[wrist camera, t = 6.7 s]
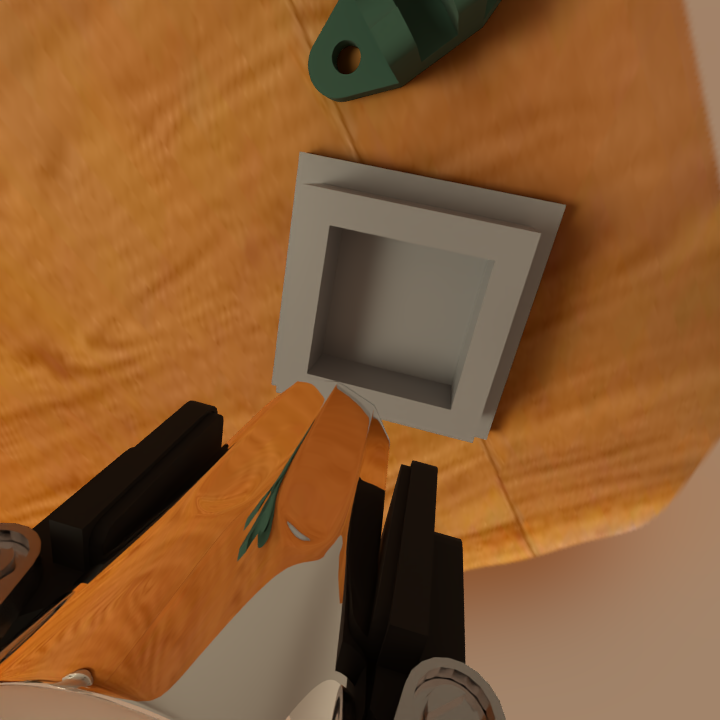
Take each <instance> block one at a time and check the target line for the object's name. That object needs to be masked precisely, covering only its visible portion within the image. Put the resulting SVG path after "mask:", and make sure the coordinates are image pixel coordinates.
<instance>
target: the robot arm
mask: <svg viewBox="0 0 720 720" xmlns="http://www.w3.org/2000/svg"><path fill="white" fill-rule="evenodd" d="M222 433H223V416H222V415H219V414H217V408H216V407H215V406H211V405H207V404H204V403H200V402H196V401H189V402H187V403H186V404H185V405H183V406H182V407H181V408H180V409H179V410H178V411H176V412H175V413H174V414H173V415H172V416H170V417H169V418H168V419H167V420H166V421H165V422H163V423H162V424H161V425H160V426H159V427H157V428H156V429H155V430H154V431H153V432H152V433H150V434H149V435H148V436H147V437H146V438H144V439H143V440H142V441H141V442H140V443H139V444H137V445H136V446H135V447H132V448H130V449H128V450H127V451H125V452H124V453H123V454H122V455H120V456H119V457H118V458H117V459H116V460H114V461H113V462H112V463H111V464H110V465H108V466H107V467H106V468H105V469H104V470H102V471H101V472H100V473H99V474H98V475H96V476H95V477H94V478H93V479H92V480H90V481H89V482H88V483H87V484H86V485H84V486H83V487H82V488H81V489H80V490H79V491H77V492H76V493H75V494H74V495H73V496H71V497H70V498H69V499H68V500H67V501H65V502H64V503H63V504H62V505H61V506H59V507H58V508H57V509H56V510H55V511H53V512H52V513H51V514H50V515H49V516H47V517H46V518H45V519H44V520H43V521H41V522H40V523H39V524H38V525H37V526H35V527H34V528H33V529H31V528H29V527H27V526H24V525H20V524H16V523H0V647H2V646H3V645H4V644H5V643H6V642H7V641H8V640H9V639H10V638H12V637H13V636H14V635H15V634H16V633H17V632H18V631H19V630H21V629H22V628H23V627H24V626H25V625H26V624H27V623H28V622H30V621H31V620H32V619H33V618H34V617H35V616H36V615H37V614H39V613H40V612H41V611H42V610H43V609H44V608H45V607H46V606H48V605H49V604H50V603H51V602H52V601H53V600H54V599H55V598H56V597H58V596H59V595H60V594H61V593H62V592H63V591H64V590H65V589H67V588H68V587H69V586H70V585H71V584H72V583H73V582H74V581H76V580H77V579H78V578H79V577H80V576H81V575H82V574H83V573H85V572H86V571H87V570H88V569H89V568H90V567H91V566H92V565H94V564H95V563H96V562H97V561H98V560H99V559H100V558H102V557H103V556H104V555H105V554H106V553H107V552H108V551H109V550H111V549H112V548H113V547H114V546H115V545H116V544H117V543H119V542H120V541H121V540H122V539H123V538H125V537H126V536H127V535H128V534H130V533H131V532H132V531H133V530H135V529H136V528H137V527H138V526H139V525H140V524H142V523H143V522H144V521H145V520H146V519H147V518H148V517H149V516H150V515H151V514H152V513H154V512H155V511H156V510H157V509H158V508H159V507H160V506H161V505H162V504H163V503H164V502H165V501H166V500H167V499H168V498H169V497H170V496H171V495H172V494H174V493H175V492H176V491H177V490H178V489H179V488H180V487H181V486H182V485H183V484H184V483H185V482H186V481H187V480H188V479H189V478H190V477H191V476H192V475H193V474H194V473H195V472H197V471H198V470H199V469H200V468H201V467H202V466H203V465H204V464H205V463H206V462H207V461H208V460H209V459H210V458H211V457H212V456H213V455H214V454H215V453H216V452H217V451H218V450H219V449H220V448H221V444H222ZM437 473H438V468H437V467H436V466H432V465H428V464H425V463H421V462H417V461H414V460H413V461H412V463H411V466H406V465H402V464H401V467H400V470H399V474H398V478H397V481H396V485H395V489H394V492H393V496H392V500H391V503H390V507H389V511H388V514H387V518H386V522H385V525H384V529H383V533H382V536H381V541H380V551H379V562H378V572H377V582H376V592H375V598H374V604H373V610H372V616H371V622H370V629H369V635H368V640H369V645H370V668H369V683H368V699H367V714H366V720H506V719H505V716H504V712H503V710H502V707H501V704H500V701H499V699H498V698H497V696H496V694H495V693H494V691H493V689H492V688H491V686H490V685H489V684H488V683H487V682H486V681H485V680H484V679H483V677H481V676H480V674H479V673H478V672H476V671H475V670H473V669H472V668H470V667H469V666H467V665H466V664H465V629H464V588H463V547H462V541H461V539H458V538H455V537H451V536H448V535H444V534H441V533H437V532H434V528H435V509H436V491H437Z"/></svg>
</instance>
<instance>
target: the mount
mask: <svg viewBox="0 0 720 720" xmlns="http://www.w3.org/2000/svg"><path fill="white" fill-rule="evenodd" d="M500 2H501V0H339V1H338V3H337V4H336V6H335V8H334V10H333V11H332V13H331V15H330V17H329V19H328V20H327V22H326V24H325V26H324V27H323V29H322V31H321V33H320V34H319V36H318V38H317V40H316V42H315V43H314V45H313V47H312V49H311V52H310V55H309V61H308V70H309V75H310V78H311V81H312V83H313V85H314V86H315V88H316V89H317V90H318V91H319V92H320V93H322V94H323V95H325V96H326V97H328V98H329V99H331V100H334V101H338V102H345V101H349V100H353V99H357V98H361V97H365V96H369V95H373V94H377V93H380V92H384V91H388V90H392V89H396V88H400V87H402V86H404V85H405V84H406V83H408V82H409V81H410V80H412V79H413V78H414V77H416V76H417V75H418V74H420V73H421V72H423V71H424V70H425V69H427V68H428V67H429V66H431V65H432V64H433V63H435V62H436V61H437V60H439V59H440V58H441V57H443V56H444V55H446V54H447V53H448V52H450V51H451V50H452V49H454V48H455V47H456V46H458V45H459V44H460V43H462V42H463V41H464V40H466V39H467V38H468V37H470V36H471V35H473V34H474V33H475V32H477V31H478V30H479V29H481V28H482V27H483V26H484V24H485V23H486V22H487V20H488V19H489V17H490V16H491V14H492V13H493V12H494V10H495V9H496V7H497V6H498V4H499V3H500ZM347 46H355V47H357V48H359V50H360V53H361V60H360V64H359V66H358V68H357V69H356V70H355V71H354V72H353V73H351V74H341V73H340V72H339V70H338V67H337V58H338V55H339V53H340V52H341V50H342V49H344V48H345V47H347Z"/></svg>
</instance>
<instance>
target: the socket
mask: <svg viewBox="0 0 720 720" xmlns="http://www.w3.org/2000/svg"><path fill="white" fill-rule="evenodd" d="M565 207H566V205H564V204H559V203H554V202H549V201H544V200H539V199H534V198H529V197H524V196H519V195H514V194H509V193H504V192H499V191H494V190H489V189H484V188H479V187H474V186H469V185H464V184H459V183H454V182H449V181H444V180H439V179H434V178H429V177H424V176H419V175H414V174H409V173H404V172H399V171H394V170H389V169H384V168H379V167H374V166H369V165H364V164H359V163H354V162H349V161H344V160H339V159H334V158H329V157H324V156H320V155H315V154H310V153H304V152H300V154H299V163H298V171H297V179H296V187H295V196H294V204H293V212H292V220H291V229H290V237H289V245H288V253H287V261H286V270H285V278H284V286H283V294H282V303H281V311H280V319H279V327H278V336H277V344H276V352H275V360H274V369H273V377H272V385H276V386H277V388H276V392H277V393H282V392H284V391H285V390H286V389H288V388H289V387H290V386H292V385H293V384H294V383H295V382H297V381H340V382H341V383H343V384H344V385H346V386H347V387H349V388H350V389H352V390H353V391H355V392H356V393H358V394H359V395H361V396H362V397H364V398H366V399H367V400H369V401H370V402H372V403H373V404H375V407H376V409H377V411H378V414H379V416H380V419H382V420H386V421H390V422H393V423H397V424H401V425H405V426H409V427H413V428H417V429H421V430H424V431H428V432H432V433H436V434H440V435H444V436H448V437H451V438H455V439H459V440H463V441H467V442H471V443H473V440H474V437H478V438H482V439H487V436H488V433H489V431H490V428H491V425H492V422H493V419H494V416H495V413H496V410H497V407H498V404H499V401H500V398H501V395H502V392H503V389H504V386H505V384H506V381H507V378H508V375H509V372H510V369H511V366H512V363H513V360H514V357H515V354H516V351H517V348H518V345H519V342H520V340H521V337H522V334H523V331H524V328H525V325H526V322H527V319H528V316H529V313H530V310H531V307H532V304H533V301H534V298H535V295H536V293H537V290H538V287H539V284H540V281H541V278H542V275H543V272H544V269H545V266H546V263H547V260H548V257H549V254H550V251H551V249H552V246H553V243H554V240H555V237H556V234H557V231H558V228H559V225H560V222H561V219H562V216H563V213H564V210H565Z"/></svg>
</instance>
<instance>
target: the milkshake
mask: <svg viewBox="0 0 720 720" xmlns="http://www.w3.org/2000/svg"><path fill="white" fill-rule="evenodd" d="M389 447H390V440H389V438H388V435H387V433H386V431H385V428H384V426H383V424H382V421H381V419H380V416H379V414H378V411H377V409H376V407H375V404H373V403H372V402H370V401H369V400H367V399H366V398H364V397H362V396H361V395H359V394H358V393H356V392H355V391H353V390H352V389H350V388H349V387H347V386H346V385H344V384H343V383H341V382H340V381H297V382H295V383H294V384H293V385H292V386H290V387H289V388H288V389H286V390H285V391H284V392H282V393H281V394H280V395H278V396H277V397H276V398H274V399H273V400H272V401H270V402H269V403H268V404H267V405H265V406H264V407H263V408H262V409H261V410H260V411H259V412H258V413H257V414H256V415H255V416H254V417H253V418H252V419H251V420H250V421H249V422H248V423H247V424H246V425H244V426H243V427H242V428H241V429H240V430H239V431H238V432H237V433H236V434H235V435H234V436H233V437H232V438H231V439H230V440H229V441H228V442H227V443H226V444H225V445H224V446H223V447H222V448H220V449H219V450H218V451H217V452H216V453H215V454H214V455H213V456H212V457H211V458H210V459H209V460H208V461H207V462H206V463H205V464H204V465H203V466H202V467H201V468H200V469H199V470H198V471H197V472H195V473H194V474H193V475H192V476H191V477H190V478H189V479H188V480H187V481H186V482H185V483H184V484H183V485H182V486H181V487H180V488H179V489H178V490H177V491H176V492H175V493H174V494H172V495H171V496H170V497H169V498H168V499H167V500H166V501H165V502H164V503H163V504H162V505H161V506H160V507H159V508H158V509H157V510H156V511H155V512H154V513H152V514H151V515H150V516H149V517H148V518H147V519H146V520H145V521H144V522H143V523H142V524H140V525H139V526H138V527H137V528H136V529H135V530H133V531H132V532H131V533H130V534H128V535H127V536H126V537H125V538H123V539H122V540H121V541H120V542H119V543H117V544H116V545H115V546H114V547H113V548H112V549H111V550H109V551H108V552H107V553H106V554H105V555H104V556H103V557H102V558H100V559H99V560H98V561H97V562H96V563H95V564H94V565H92V566H91V567H90V568H89V569H88V570H87V571H86V572H85V573H83V574H82V575H81V576H80V577H79V578H78V579H77V580H76V581H74V582H73V583H72V584H71V585H70V586H69V587H68V588H67V589H65V590H64V591H63V592H62V593H61V594H60V595H59V596H58V597H56V598H55V599H54V600H53V601H52V602H51V603H50V604H49V605H48V606H46V607H45V608H44V609H43V610H42V611H41V612H40V613H39V614H37V615H36V616H35V617H34V618H33V619H32V620H31V621H30V622H28V623H27V624H26V625H25V626H24V627H23V628H22V629H21V630H19V631H18V632H17V633H16V634H15V635H14V636H13V637H12V638H10V639H9V640H8V641H7V642H6V643H5V644H4V645H3V646H2V647H0V720H366V714H367V699H368V683H369V668H370V645H369V640H368V635H369V629H370V622H371V616H372V610H373V604H374V598H375V592H376V582H377V572H378V562H379V551H380V541H381V531H382V520H383V510H384V500H385V489H386V479H387V468H388V458H389Z"/></svg>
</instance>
